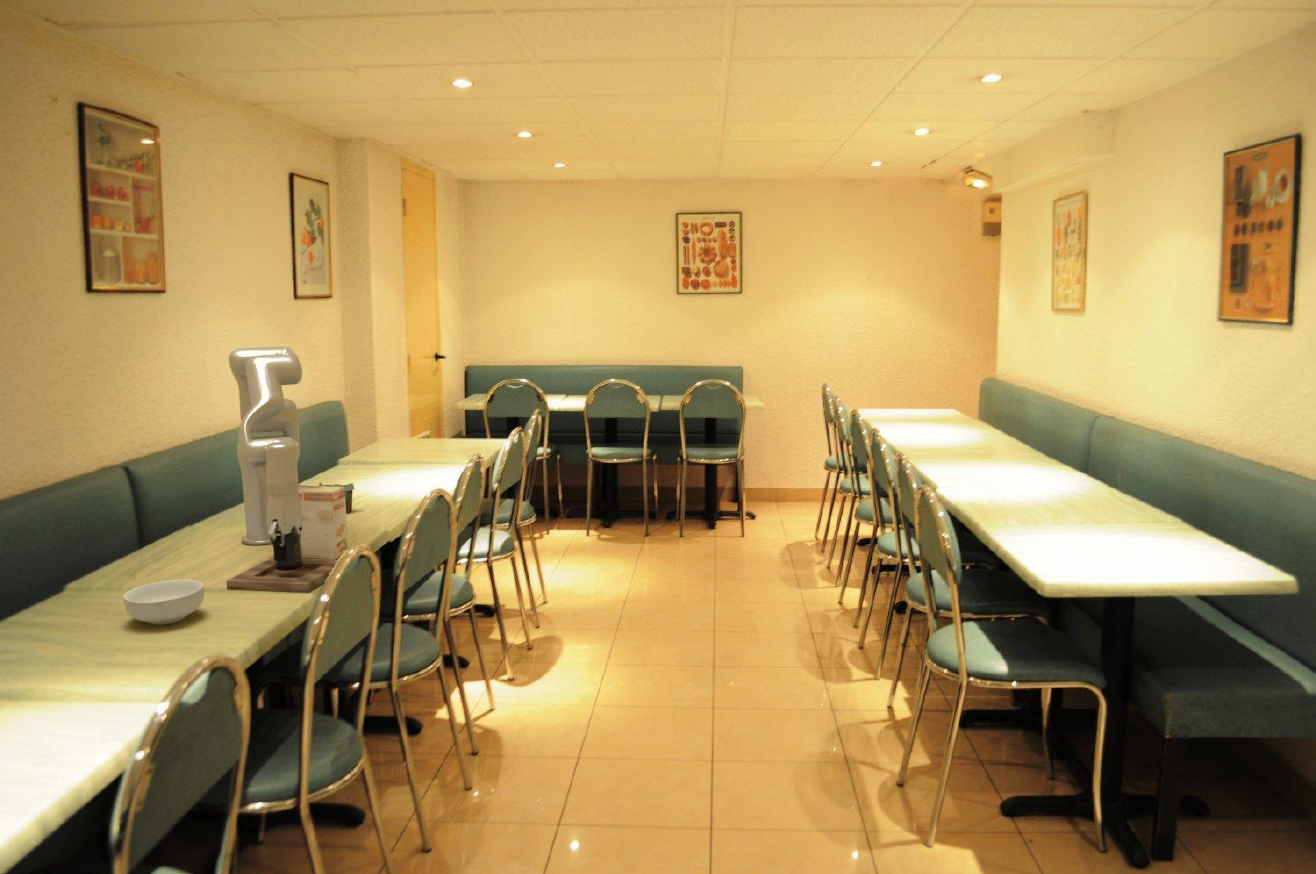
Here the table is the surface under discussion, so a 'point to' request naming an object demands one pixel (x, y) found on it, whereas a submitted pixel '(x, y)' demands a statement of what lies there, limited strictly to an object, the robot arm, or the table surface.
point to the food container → (347, 494)
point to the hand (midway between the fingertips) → (287, 556)
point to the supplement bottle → (291, 552)
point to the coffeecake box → (323, 522)
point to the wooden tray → (283, 577)
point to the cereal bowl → (164, 601)
